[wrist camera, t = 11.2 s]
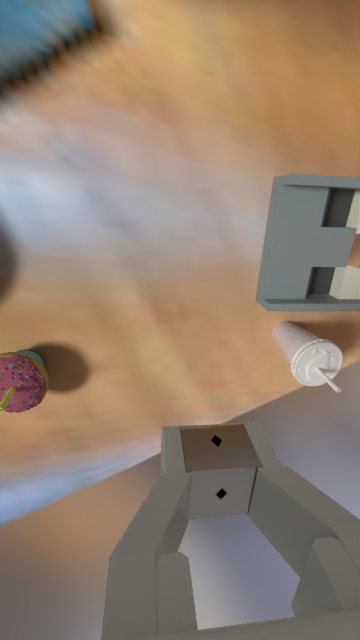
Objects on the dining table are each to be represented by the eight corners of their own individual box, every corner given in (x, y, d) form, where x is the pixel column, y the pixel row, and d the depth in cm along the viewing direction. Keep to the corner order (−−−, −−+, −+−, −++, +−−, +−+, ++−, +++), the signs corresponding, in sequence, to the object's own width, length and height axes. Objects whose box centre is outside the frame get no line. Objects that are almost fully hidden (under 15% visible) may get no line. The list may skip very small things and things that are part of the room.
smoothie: (256, 343, 44) (302, 402, 31) (276, 307, 42) (334, 354, 29) (290, 355, 46) (347, 415, 33) (311, 320, 44) (380, 370, 31)
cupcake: (23, 327, 39) (-24, 376, 28) (70, 366, 42) (44, 425, 31) (-18, 363, 40) (-80, 424, 29) (30, 399, 43) (-9, 466, 32)
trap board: (274, 177, 35) (291, 174, 31) (391, 183, 37) (421, 181, 33) (255, 299, 41) (267, 311, 37) (356, 300, 43) (379, 310, 39)
